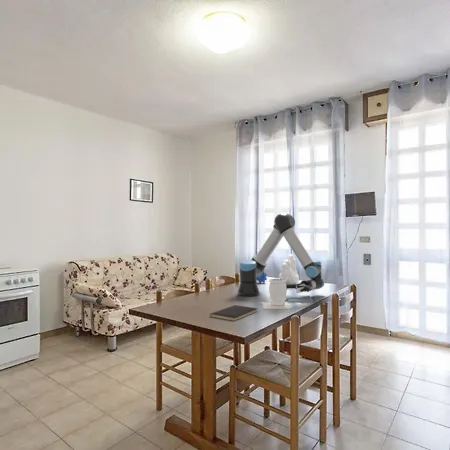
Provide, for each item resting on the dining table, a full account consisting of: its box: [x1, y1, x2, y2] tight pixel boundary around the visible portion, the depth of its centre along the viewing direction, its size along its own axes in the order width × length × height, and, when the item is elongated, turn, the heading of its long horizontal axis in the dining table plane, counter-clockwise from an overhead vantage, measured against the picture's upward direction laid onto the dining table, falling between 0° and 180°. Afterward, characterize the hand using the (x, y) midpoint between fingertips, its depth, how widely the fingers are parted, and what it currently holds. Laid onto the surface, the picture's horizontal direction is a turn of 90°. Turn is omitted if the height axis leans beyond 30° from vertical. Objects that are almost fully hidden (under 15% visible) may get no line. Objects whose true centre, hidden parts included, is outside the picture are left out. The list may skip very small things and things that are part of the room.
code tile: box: [261, 301, 292, 310], centre depth 203 cm, size 16×16×1 cm
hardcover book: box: [210, 304, 258, 321], centre depth 185 cm, size 16×23×2 cm
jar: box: [268, 278, 288, 306], centre depth 205 cm, size 11×10×15 cm
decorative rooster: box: [278, 253, 300, 284], centre depth 276 cm, size 25×16×25 cm, turn 138°
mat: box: [285, 294, 315, 303], centre depth 219 cm, size 16×16×1 cm
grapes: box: [256, 271, 268, 284], centre depth 285 cm, size 12×7×12 cm, turn 66°
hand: (287, 289), depth 211 cm, fingers open, 13 cm apart
